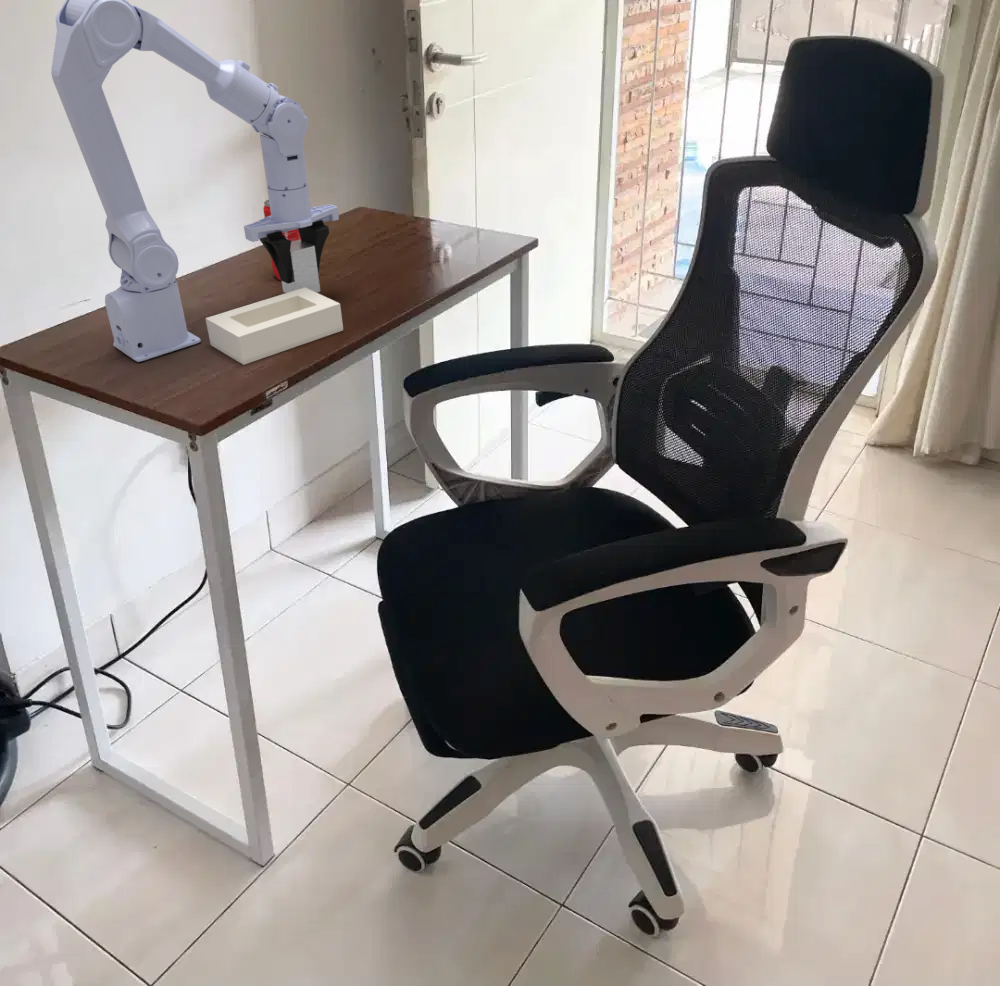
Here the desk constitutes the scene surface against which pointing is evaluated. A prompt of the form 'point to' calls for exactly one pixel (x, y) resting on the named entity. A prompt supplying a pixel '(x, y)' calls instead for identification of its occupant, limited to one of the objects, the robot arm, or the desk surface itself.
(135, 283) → the robot arm
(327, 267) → the desk surface
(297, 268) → the grey rectangular block
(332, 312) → the cream rectangular tray
